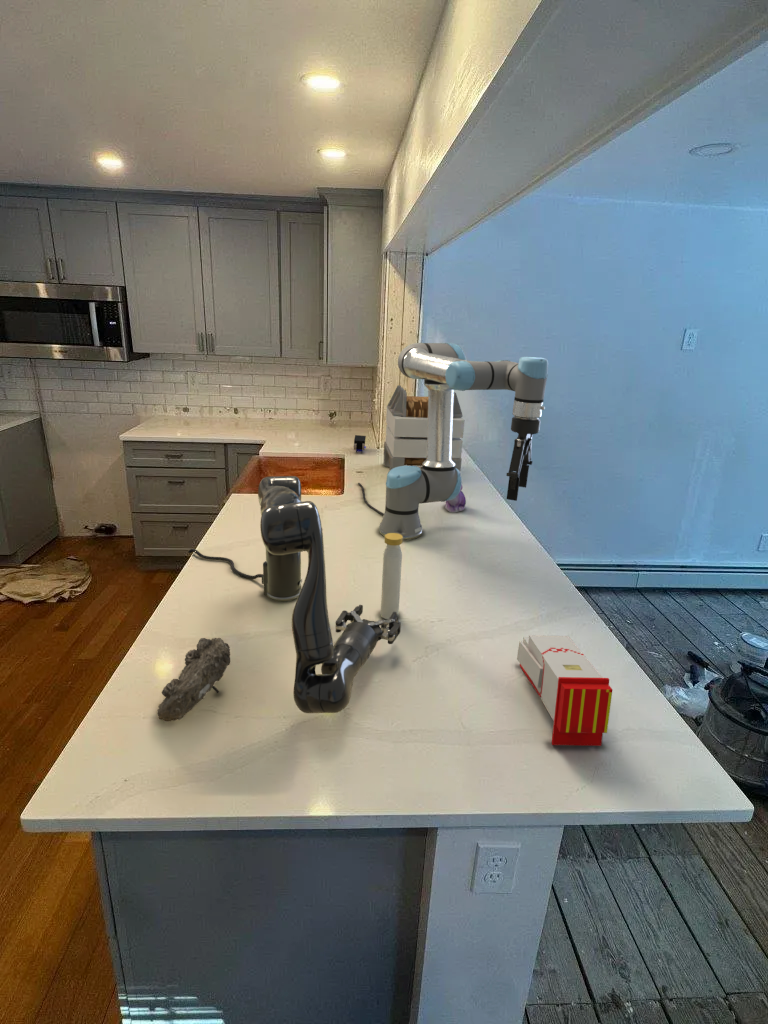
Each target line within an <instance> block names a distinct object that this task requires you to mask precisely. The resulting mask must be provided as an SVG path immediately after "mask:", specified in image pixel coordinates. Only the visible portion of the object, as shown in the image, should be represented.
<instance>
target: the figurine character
mask: <svg viewBox="0 0 768 1024" xmlns="http://www.w3.org/2000/svg"><path fill="white" fill-rule="evenodd" d="M366 438H367V436H366V435H360V434H359V435H357V434H354V439H353V451H355V453H356V454H358V453H359V452H360V454H363V452H364V451H365V449H366V448H367V447H366Z"/></svg>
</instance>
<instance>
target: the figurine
mask: <svg viewBox="0 0 768 1024" xmlns="http://www.w3.org/2000/svg"><path fill="white" fill-rule="evenodd" d="M461 472H462V471H461ZM461 472H460V476H461V477H462V473H461ZM463 488H464V487H463V483H461V489H460V492H459V494H458V495H457V496H456V497H455V498H454V499H452V500H448V501H445V504H444V508H445V510H446V511H447V512H450V513H457V512H463V511H464V510H465V507H466V503H467V500H466V496H465V493H464V492H463Z"/></svg>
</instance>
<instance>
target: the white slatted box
mask: <svg viewBox="0 0 768 1024" xmlns="http://www.w3.org/2000/svg"><path fill="white" fill-rule="evenodd" d="M407 394H408V393H407V390H406V389H404V388H403V387H402V385H399V384H398V385H397V386H396V388H395V390H394V392H393V394H392V395H391V398H390V400H389V402H388V404H387V405H386V413H385V414H386V415H385V423H386V428H385V438H384V442H383V466H384V467H388V468H389V471H390V470H391V469H393V468H395V467H399V466H417V467H422V463H423V462H424V461H425V460H426V459H427V428H428V396H415V395H414V396H413V395H412V396H411V395H407ZM464 429H465V419H464V418H463V411H462V408H461V405H460V402H459V398H458V395H457V392H455V391H454V397H453V425H452V452H451V460H452V461H453V462H454V463H455V468H457V469H458V470H459V472H462V461H463V460H462V453H463V442H464V441H463V440H462V439H463V438H464V431H465V430H464Z"/></svg>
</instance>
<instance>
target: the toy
mask: <svg viewBox="0 0 768 1024" xmlns="http://www.w3.org/2000/svg"><path fill="white" fill-rule="evenodd" d="M517 648H518V649H517V655H516V661H517V662H518V663H519V667H520V669H521V670H522V672H523V673H524V675H525V677H526V678H527V680H528V681H529V683H530V684H531V686H532V687H533V689H534V691H535V692H536V693H537V695H538V697H539V698H540V700H541V702H542V703H543V705H544V707H545V709H546V710H547V712H548V714H549V716H550V717H551V719H552V721H553V727H552V736H551V745H552V746H584V747H585V746H586V747H587V746H593V747H594V746H595V747H601V746H602V744H603V743H602V741H603V734H607V733H608V728H609V719H610V713H611V706H612V705H611V704H612V699H613V698H612V696H613V688H612V687H611V686H610V678H609V677H603V676H602V675H601V673H599V671H598V670H597V669H596V667H594V665H593V664H592V662H591V661H590V660H589V659H588V658H587V657H586V655H585V654H584V653H583V652H582V651H581V649H580V648H579V647H578V646H577V645H576V643H575V642H574V640H572V638H571V637H570V636H569V635H540V634H539V635H536V634H535V635H534V634H533V635H531V634H529V635H528V636H523V638H522V640H521V641H519V642H518V647H517Z"/></svg>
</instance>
